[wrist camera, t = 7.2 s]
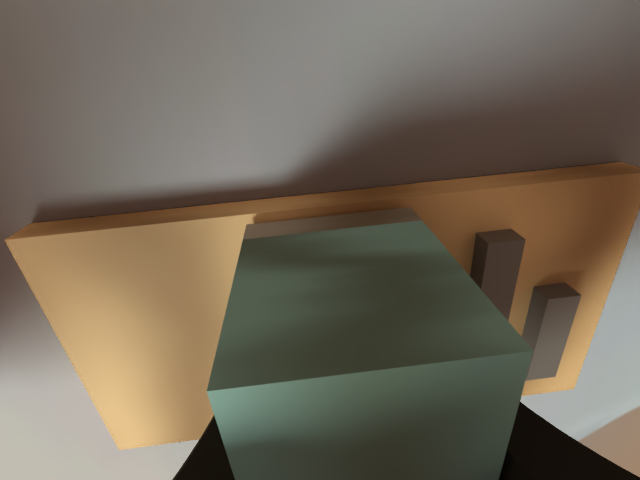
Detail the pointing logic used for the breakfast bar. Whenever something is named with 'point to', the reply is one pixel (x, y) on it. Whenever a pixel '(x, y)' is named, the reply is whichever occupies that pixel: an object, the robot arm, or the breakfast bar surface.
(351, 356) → the block
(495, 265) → the small grey brown block
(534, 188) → the oak board
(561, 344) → the grey brown rectangular bar
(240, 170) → the breakfast bar surface
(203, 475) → the robot arm
